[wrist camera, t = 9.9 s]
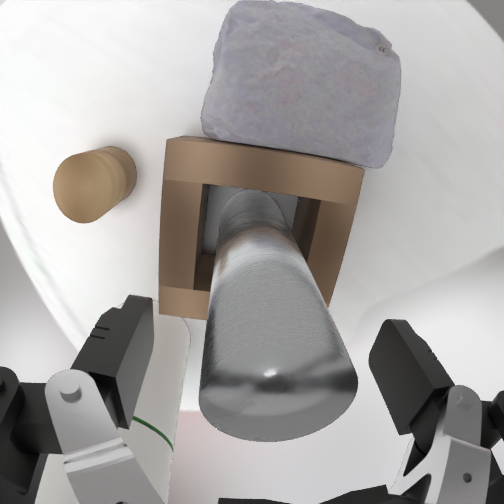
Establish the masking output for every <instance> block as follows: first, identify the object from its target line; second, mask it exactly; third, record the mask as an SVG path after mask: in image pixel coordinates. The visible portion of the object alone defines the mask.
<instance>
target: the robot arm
mask: <svg viewBox="0 0 504 504" xmlns="http://www.w3.org/2000/svg"><path fill="white" fill-rule="evenodd" d="M153 346H154V319H153V300H152V298H149V297H142V296H135V295H129V296H128V297H127V299H126V301H125V302H124V304H123V306H122V308H121V309H120V308H114V307H112V308H111V309H110V310H108V311H107V312H105V313H104V314H102V315H101V317H100V318H99V320H98V322H97V323H96V325H95V328H93V330H92V332H91V333H90V337H88V338H87V340H86V342H85V344H84V345H83V347H82V349H81V351H80V352H79V354H78V356H77V358H76V360H75V361H74V363H73V365H72V367H71V368H70V370H63V371H60V372H58V373H56V374H55V375H53V376H52V377H51V378H50V379H49V380H48V382H47V383H23V382H19V380H18V378H17V376H16V374H15V373H14V372H13V371H12V370H11V369H9V368H6V367H0V504H35V500H36V496H37V493H38V489H39V485H40V481H41V478H42V474H43V471H44V468H45V464H46V461H47V458H48V455H49V454H63V455H64V458H65V462H64V468H65V471H66V474H67V477H68V479H69V482H70V484H71V486H72V489H73V491H74V493H75V495H76V498H77V500H78V502H79V504H165V503H164V502H163V500H162V499H161V497H160V496H159V495H158V493H157V492H156V490H155V489H154V487H153V486H152V484H151V483H150V481H149V480H148V478H147V476H146V475H145V473H144V472H143V470H142V468H141V467H140V465H139V463H138V462H137V460H136V458H135V457H134V455H133V453H132V452H131V450H130V449H129V447H128V446H127V444H125V443H124V442H123V440H122V438H121V436H120V434H119V433H118V431H117V430H118V427H119V428H124V429H128V430H129V429H130V425H131V421H132V418H133V414H134V411H135V407H136V404H137V400H138V397H139V394H140V390H141V387H142V384H143V380H144V377H145V374H146V371H147V368H148V364H149V361H150V358H151V355H152V352H153ZM369 367H370V370H371V372H372V374H373V376H374V378H375V380H376V383H377V385H378V387H379V389H380V392H381V394H382V396H383V399H384V401H385V403H386V405H387V408H388V410H389V412H390V415H391V417H392V419H393V422H394V424H395V426H396V429H397V431H398V434H399V435H404V434H409V433H412V434H413V436H414V437H413V438H412V439H411V440H410V442H409V444H408V447H407V450H406V454H405V456H404V459H403V462H402V465H401V467H400V470H399V473H398V475H397V478H396V481H395V482H394V484H393V486H392V487H391V489H390V490H389V491H388V490H387V487H386V485H382V486H377V487H372V488H367V489H362V490H357V491H351V492H349V493H346V494H343V495H341V496H338V497H336V498H334V499H331V500H328V501H325V502H322V503H320V504H504V475H502V473H501V471H500V468H499V466H498V464H497V462H496V459H495V457H494V455H493V453H492V451H491V448H492V447H493V446H494V445H495V444H496V443H497V442H498V441H499V440H500V439H501V438H502V439H503V441H504V391H501V392H499V393H498V394H497V396H496V397H495V398H494V400H493V401H492V402H491V401H481V400H480V398H479V396H478V395H477V394H476V393H475V392H474V391H473V390H472V389H470V388H468V387H466V386H463V385H456V386H455V384H454V383H453V381H452V380H451V378H450V377H449V375H448V374H447V373H446V371H445V369H444V368H443V366H442V365H441V363H440V362H439V360H437V357H436V356H435V354H434V353H432V350H431V349H430V347H429V346H428V344H427V343H426V342H425V341H424V340H423V339H422V338H421V337H420V336H418V335H417V334H416V333H415V332H414V330H413V329H412V327H411V326H410V325H409V323H408V322H407V321H406V320H396V319H387V320H385V321H384V323H383V324H382V326H381V328H380V331H379V333H378V335H377V338H376V340H375V343H374V345H373V347H372V349H371V351H370V354H369ZM218 504H289V503H283V502H277V501H272V500H266V499H230V498H219V500H218Z"/></svg>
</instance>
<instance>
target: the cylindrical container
mask: <svg viewBox="0 0 504 504" xmlns="http://www.w3.org/2000/svg"><path fill="white" fill-rule="evenodd" d="M123 304H124V303H122V304H120V305H119V306H118V307H117V308H120V309H121V308H122V306H123ZM153 319H154V346H153V352H152V355H151V358H150V361H149V364H148V368H147V371H146V374H145V377H144V380H143V384H142V387H141V390H140V394H139V397H138V400H137V404H136V407H135V411H134V414H133V418H132V421H131V425H130V429H129V430H128V429H124V428H119V427H118V430H117V431H118V433H119V434H120V436H121V438H122V440H123V442H124V443H125V444H127V446H128V447H129V449H130V450H131V452H132V453H133V455H134V457H135V458H136V460H137V462H138V463H139V465H140V467H141V468H142V470H143V472H144V473H145V475H146V476H147V478H148V480H149V481H150V483H151V484H152V486H153V487H154V489H155V490H156V492H157V493H158V495H159V496H160V497H161V499H162V500H163V502H164V503H165V504H167V502H168V492H169V484H170V474H171V467H172V459H173V452H174V444H175V436H176V429H177V422H178V415H179V408H180V402H181V395H182V389H183V382H184V376H185V370H186V364H187V358H188V352H189V346H190V341H191V340H190V332H189V329H188V326H187V325H186V323H185V321H184V320H183V319H182V317H176V316H169V315H162V314H159V302H158V301H154V300H153ZM64 462H65V458H64V455H63V454H49V455H48V458H47V461H46V464H45V468H44V471H43V474H42V478H41V481H40V485H39V489H38V493H37V496H36V500H35V504H79V502H78V500H77V498H76V495H75V493H74V491H73V489H72V486H71V484H70V482H69V479H68V477H67V474H66V471H65V468H64Z"/></svg>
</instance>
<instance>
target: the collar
mask: <svg viewBox="0 0 504 504" xmlns="http://www.w3.org/2000/svg"><path fill="white" fill-rule="evenodd" d="M364 171H365V170H364V169H362V168H359V167H357V166H354V165H352V164H349V163H347V162H344V161H341V160H338V159H333V158H328V157H324V156H319V155H314V154H309V153H302V152H296V151H289V150H282V149H276V148H269V147H263V146H256V145H249V144H243V143H236V142H228V141H219V140H215V139H210V138H203V137H193V136H180V137H176V138H171V139H167V141H166V151H165V161H164V172H163V185H162V199H161V216H160V238H159V314H162V315H169V316H176V317H184V318H192V319H200V320H207V316H208V308H209V300H210V292H211V284H212V277H213V269H214V262H215V255H208V254H202V247H203V236H204V226H205V216H206V207H207V198H208V189H209V184H213V185H222V186H230V187H238V188H245V189H253V190H260V191H267V192H274V193H281V194H288V195H294V196H299V199H298V204H297V209H296V214H295V219H294V224H293V229H292V235H293V237H294V239H295V241H296V243H297V245H298V247H299V249H300V251H301V253H302V255H303V257H304V259H305V261H306V263H307V266H308V268H309V270H310V272H311V274H312V276H313V278H314V280H315V282H316V284H317V286H318V289H319V291H320V293H321V295H322V297H323V299H324V301H325V304H326V306H327V308H328V307H329V303H330V300H331V297H332V294H333V291H334V287H335V284H336V281H337V277H338V274H339V271H340V267H341V264H342V260H343V256H344V253H345V249H346V246H347V242H348V238H349V234H350V230H351V227H352V223H353V219H354V215H355V211H356V206H357V202H358V198H359V194H360V189H361V185H362V180H363V176H364Z"/></svg>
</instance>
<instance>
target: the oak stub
mask: <svg viewBox="0 0 504 504" xmlns="http://www.w3.org/2000/svg"><path fill="white" fill-rule="evenodd" d="M136 177H137V173H136V167H135V164H134V162H133V160H132V158H131V157H130V155H129V154H128V153H127V152H125V151H124V150H122V149H120V148H118V147H104V148H100V149H95V150H91V151H87V152H83V153H79V154H76V155H72V156H70V157H68V158H67V159H65V160H64V161H63V162H62V163H61V164H60V166H59V167H58V169H57V171H56V173H55V176H54V181H53V193H54V198H55V201H56V203H57V205H58V207H59V209H60V210H61V212H62V213H63V214H64V215H65V216H66V217H67V218H69V219H70V220H72V221H75V222H78V223H90V222H93V221H95V220H97V219H99V218H100V217H101V216H103V215H104V214H105V213H107V212H108V211H109V210H110V209H112V208H113V207H114V206H116V205H117V204H118V203H120V202H121V201H122V200H124V199H125V198H126V197H128V196H129V194H130V193H131V192H132V190H133V188H134V186H135V183H136Z"/></svg>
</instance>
